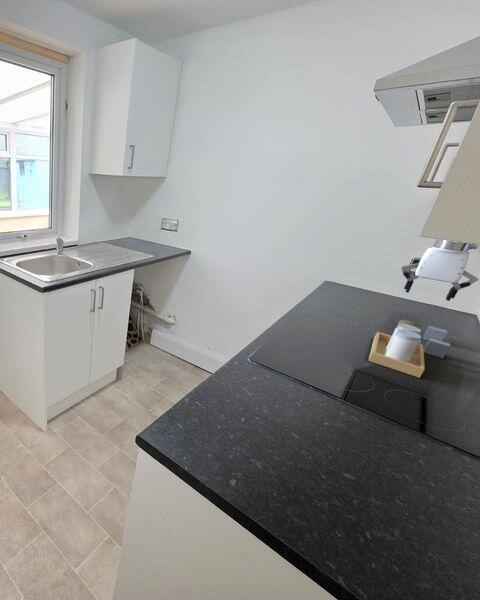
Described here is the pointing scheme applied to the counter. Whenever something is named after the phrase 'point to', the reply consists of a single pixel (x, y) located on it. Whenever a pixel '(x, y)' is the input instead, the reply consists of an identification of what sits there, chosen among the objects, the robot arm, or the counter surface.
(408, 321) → the cork
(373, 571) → the counter surface
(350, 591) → the counter surface
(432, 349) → the grey slab front
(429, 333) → the grey slab back
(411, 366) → the shaker tray
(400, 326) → the cylinder
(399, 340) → the salt shaker
